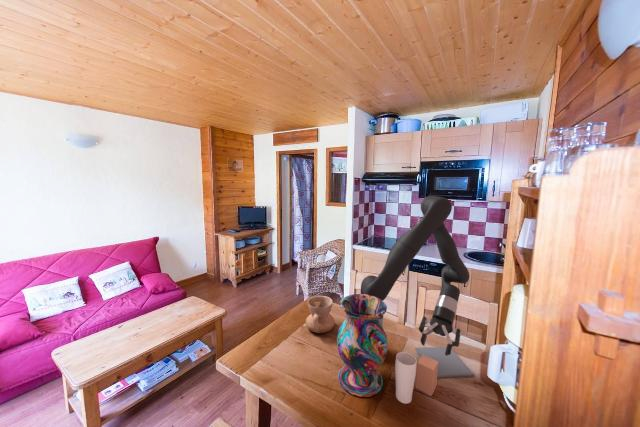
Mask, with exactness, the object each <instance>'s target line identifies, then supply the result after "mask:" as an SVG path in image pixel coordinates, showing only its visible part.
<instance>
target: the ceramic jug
mask: <svg viewBox="0 0 640 427" xmlns="http://www.w3.org/2000/svg"><path fill="white" fill-rule="evenodd" d="M316 303H318V305H317V306H316ZM307 307H308V310H309V312H310V314H309V315H308V316H307V318H305V326H306V328H307V329H308V330H309V331H311V332H313V333H316V334H325V333H327V332H330V331H331V330H332V329H333V328H334V326H335V318H334V317H333V315H331V314H330V313H331V310H332V307H333V299H331V297H329V296H327V295H326V296H324V295H314V296H312V297H311V298H309V299H308V300H307Z"/></svg>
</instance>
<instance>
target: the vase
mask: <svg viewBox="0 0 640 427" xmlns="http://www.w3.org/2000/svg"><path fill="white" fill-rule="evenodd" d="M340 308H341V309H342V311H343V312H345V315H346V317H345V319H344V321H343V322H342V324H341V325H340V327H339V328H338V332H337V336H336V347H337V351H338V355H339V357H340V359H341V360H342V361H343V364H344V365H343V366H341V368H340V369H339V371H338V375H337V378H338V382H339V384H340V386H341V387H342V388H343V389H344V391H346V392H347V393H349V394H351V395H353V396H357V397H361V398H367V397H372V396H375V395H377V394H378V393H380V391H381V390H382V389H383V386H384V380H383V375H382V374H381V372H380V371H379V370H378V368H380V366H382V364H383V363H384V362H385V359H386V356H387V353H388V346H389V345H388V344H389V343H388V337H387V334H386V331H385V330H384V326H383V327H382V325H381V323H380V321H379V320H380V317H381V316H382V315H383V316H384V315H385V314H386V312H387V309H388V306H387V304H386V303H385V302H384V300H383V301H382V300H381V299H379V298H377V297H374V296H371V295H366V294H361V293H356V294H355V293H353V294H350V295H347V296H344V297H343V298H342V299H341V300H340Z"/></svg>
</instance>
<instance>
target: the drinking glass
mask: <svg viewBox="0 0 640 427" xmlns="http://www.w3.org/2000/svg"><path fill="white" fill-rule="evenodd" d="M417 363H418V360H417V358H416V356H414V355H413V354H412V353H409V352H406V351H400V352H398V353H396V355H395V363H394V364H395V365H394V368H395V369H394V371H395V372H394V374H395V398H396V400H397V401H398V402H400V403H401V404H404V405H406V404H407V405H408V404H410V403H411V402H412V400H413V393H414V387H415V383H416V376H417Z"/></svg>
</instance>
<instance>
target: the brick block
mask: <svg viewBox="0 0 640 427" xmlns="http://www.w3.org/2000/svg"><path fill="white" fill-rule="evenodd" d="M437 373H438V361H436V360H434V359H431V358H429V357H427V356H425V355H422V357H421V358H420V357H419V360H417V369H416V376H415V388H416V390H417V389H418V391H421V392H423V393H424V394H426V395H428V396H431V397H432V395H433V394H434V392H435V391H436V388H437V383H438V382H437V380H438V378H437Z"/></svg>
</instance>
